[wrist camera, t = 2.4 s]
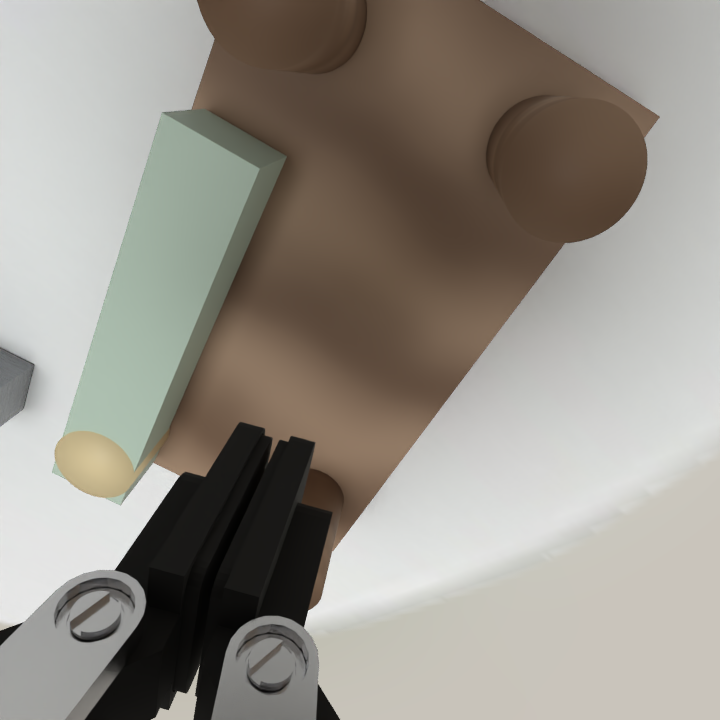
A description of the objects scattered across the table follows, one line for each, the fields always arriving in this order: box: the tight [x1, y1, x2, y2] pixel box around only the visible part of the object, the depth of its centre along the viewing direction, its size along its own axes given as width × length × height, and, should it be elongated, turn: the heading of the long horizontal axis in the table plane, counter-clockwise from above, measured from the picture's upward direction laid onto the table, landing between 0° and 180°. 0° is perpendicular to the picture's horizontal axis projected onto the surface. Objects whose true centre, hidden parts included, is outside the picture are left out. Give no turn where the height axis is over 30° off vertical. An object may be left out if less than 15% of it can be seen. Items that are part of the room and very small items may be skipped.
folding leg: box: [52, 109, 287, 505], centre depth 20 cm, size 15×3×3 cm, turn 152°
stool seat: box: [153, 0, 659, 610], centre depth 19 cm, size 22×13×7 cm, turn 152°
